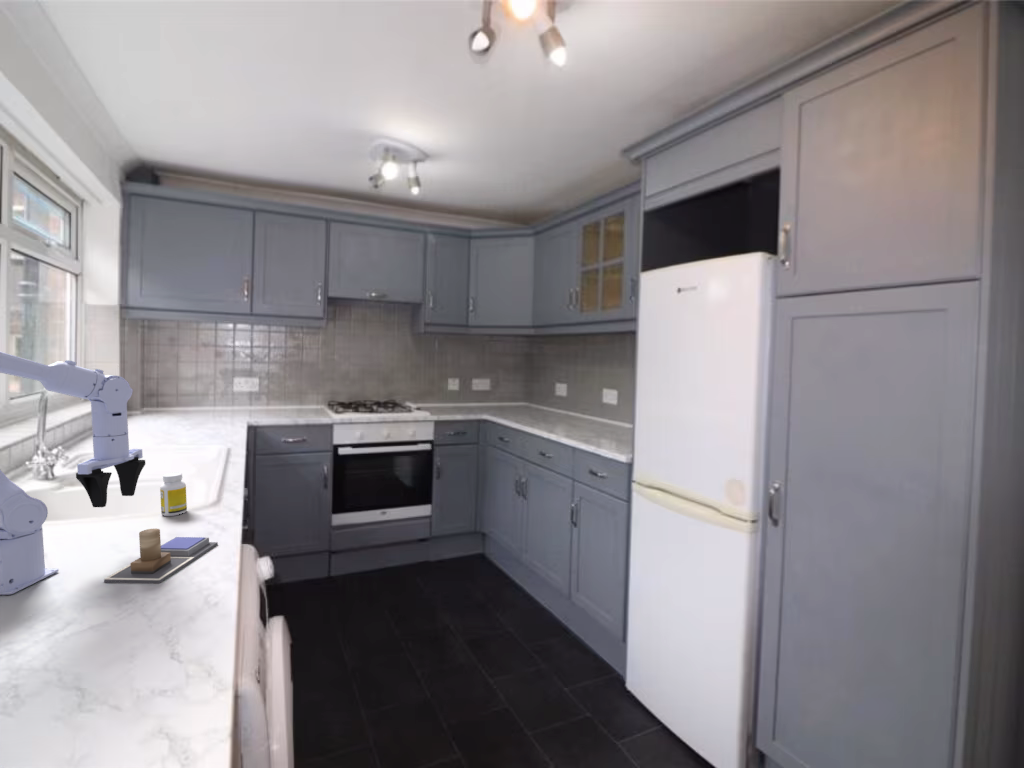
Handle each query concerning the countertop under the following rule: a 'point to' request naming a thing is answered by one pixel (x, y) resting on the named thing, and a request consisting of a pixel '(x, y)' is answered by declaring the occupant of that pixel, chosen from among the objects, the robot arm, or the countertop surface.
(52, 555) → the countertop surface
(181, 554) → the stamp mat
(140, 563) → the stamp
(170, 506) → the supplement bottle
